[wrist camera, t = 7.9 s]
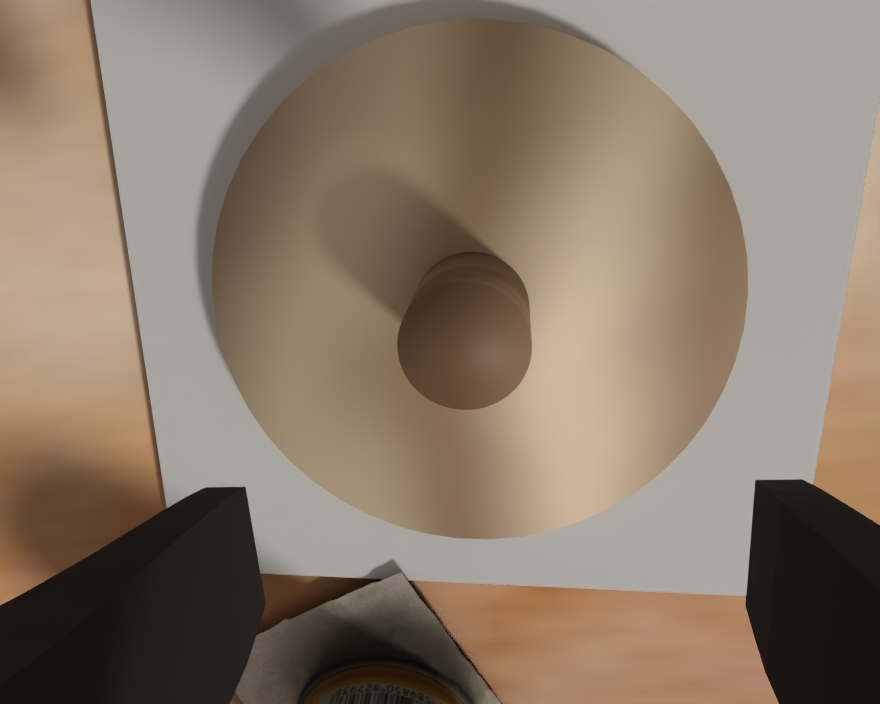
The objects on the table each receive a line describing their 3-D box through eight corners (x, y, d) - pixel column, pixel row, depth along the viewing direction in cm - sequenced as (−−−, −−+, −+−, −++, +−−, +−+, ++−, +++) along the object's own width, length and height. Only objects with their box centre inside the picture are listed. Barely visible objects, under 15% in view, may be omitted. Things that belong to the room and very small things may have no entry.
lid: (751, -6, 17) (814, -30, 13) (728, 518, 21) (773, 607, 17) (180, 49, 18) (98, 41, 15) (265, 528, 22) (218, 612, 19)
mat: (892, -30, 17) (902, -33, 16) (788, 589, 22) (793, 598, 22) (97, -12, 18) (88, -14, 18) (181, 561, 24) (175, 569, 23)
